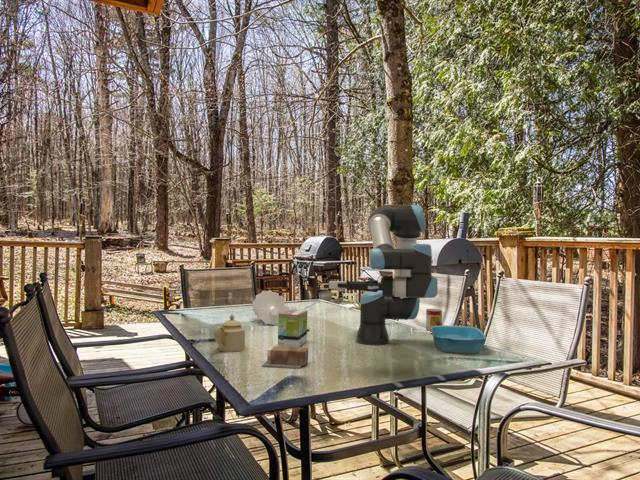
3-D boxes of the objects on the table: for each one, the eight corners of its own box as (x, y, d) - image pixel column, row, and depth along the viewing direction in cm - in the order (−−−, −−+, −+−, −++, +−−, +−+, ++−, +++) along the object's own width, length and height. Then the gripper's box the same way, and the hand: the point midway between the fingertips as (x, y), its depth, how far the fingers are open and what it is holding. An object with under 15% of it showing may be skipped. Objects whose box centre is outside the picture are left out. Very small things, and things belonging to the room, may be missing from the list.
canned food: (444, 334, 239) (445, 310, 239) (431, 334, 237) (431, 311, 237) (436, 331, 247) (436, 308, 247) (423, 332, 244) (423, 308, 244)
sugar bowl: (240, 354, 191) (240, 317, 191) (213, 354, 191) (213, 317, 191) (246, 346, 206) (247, 312, 206) (221, 346, 206) (222, 311, 206)
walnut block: (308, 347, 179) (272, 345, 182) (304, 351, 172) (267, 349, 175) (307, 360, 179) (272, 359, 182) (304, 365, 172) (267, 363, 175)
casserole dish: (429, 337, 231) (429, 323, 231) (476, 339, 227) (477, 325, 227) (433, 355, 195) (433, 337, 195) (490, 358, 191) (490, 340, 191)
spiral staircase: (266, 333, 255) (258, 323, 279) (295, 318, 259) (285, 310, 283) (252, 304, 252) (245, 296, 276) (281, 289, 256) (272, 283, 280)
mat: (306, 360, 182) (306, 359, 182) (299, 368, 170) (300, 367, 170) (271, 358, 184) (271, 357, 184) (262, 366, 172) (262, 365, 172)
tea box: (299, 348, 203) (299, 314, 203) (277, 347, 205) (277, 313, 205) (307, 341, 218) (307, 309, 218) (286, 340, 220) (286, 308, 220)
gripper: (393, 299, 165) (326, 297, 169) (394, 294, 177) (332, 293, 182) (393, 277, 165) (326, 276, 169) (394, 274, 177) (332, 273, 182)
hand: (329, 284), depth 175 cm, fingers closed
